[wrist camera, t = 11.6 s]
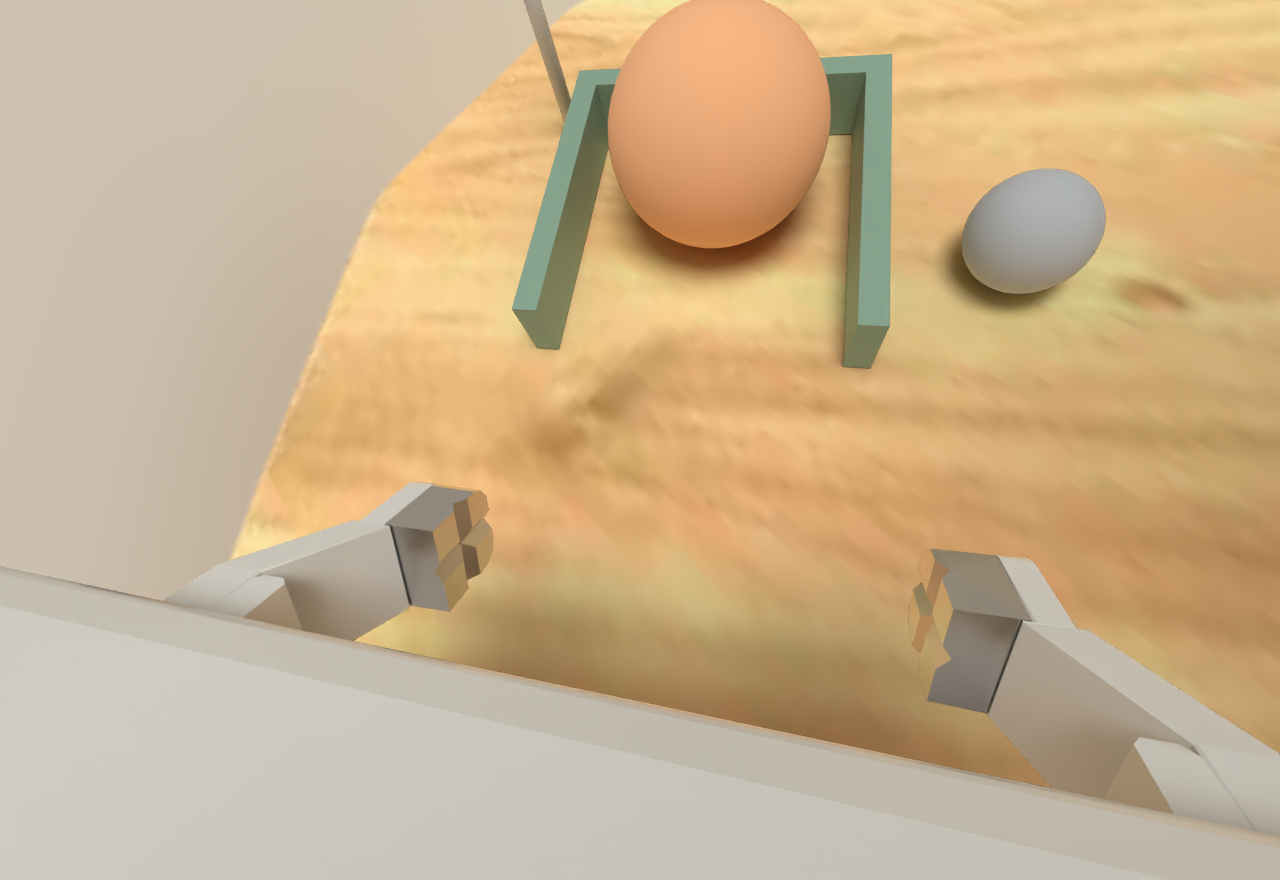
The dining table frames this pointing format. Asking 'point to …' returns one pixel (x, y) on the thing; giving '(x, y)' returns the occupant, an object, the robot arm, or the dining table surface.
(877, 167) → the green u-shaped frame
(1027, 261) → the grey ball
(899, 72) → the dining table surface
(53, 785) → the robot arm
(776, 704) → the dining table surface
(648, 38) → the ball
